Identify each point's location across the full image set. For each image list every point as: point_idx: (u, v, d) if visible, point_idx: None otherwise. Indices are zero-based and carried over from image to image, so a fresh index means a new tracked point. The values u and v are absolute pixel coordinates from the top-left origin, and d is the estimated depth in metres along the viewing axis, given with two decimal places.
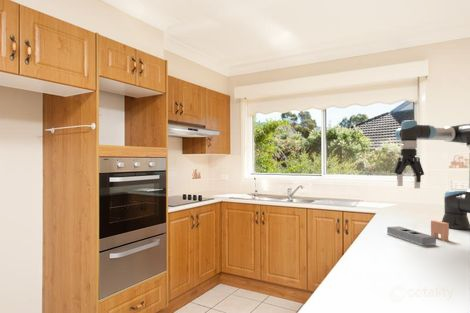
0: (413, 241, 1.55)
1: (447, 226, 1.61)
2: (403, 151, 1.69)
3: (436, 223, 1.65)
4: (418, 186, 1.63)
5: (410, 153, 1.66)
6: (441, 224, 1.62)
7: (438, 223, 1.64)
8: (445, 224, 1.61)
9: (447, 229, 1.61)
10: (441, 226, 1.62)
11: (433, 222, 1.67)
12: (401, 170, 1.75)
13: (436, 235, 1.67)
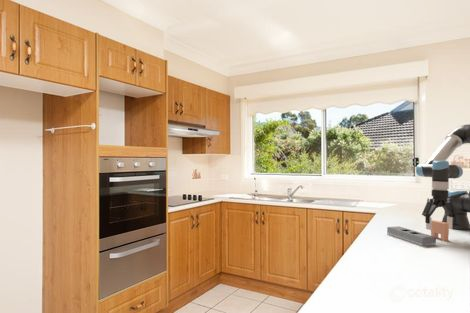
0: (413, 241, 1.55)
1: (447, 226, 1.61)
2: None
3: (436, 223, 1.65)
4: (428, 227, 1.62)
5: (432, 194, 1.65)
6: (441, 224, 1.62)
7: (438, 223, 1.64)
8: (445, 224, 1.61)
9: (447, 229, 1.61)
10: (441, 226, 1.62)
11: (433, 222, 1.67)
12: (447, 212, 1.66)
13: (436, 235, 1.67)
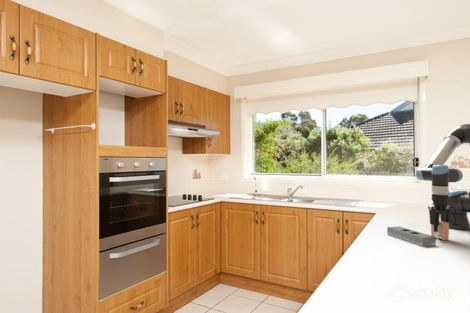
0: (413, 241, 1.55)
1: (447, 225, 1.61)
2: None
3: None
4: (437, 236, 1.64)
5: (432, 198, 1.65)
6: (441, 223, 1.62)
7: None
8: (445, 223, 1.61)
9: (447, 228, 1.61)
10: (441, 225, 1.62)
11: None
12: (442, 219, 1.65)
13: None
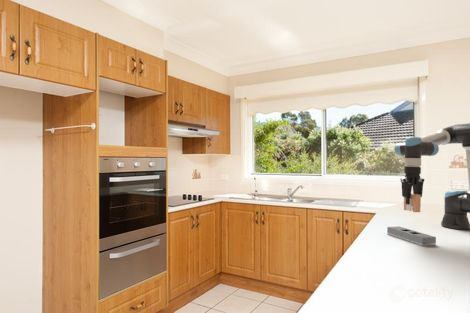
0: (413, 241, 1.55)
1: (419, 198, 1.59)
2: None
3: None
4: (408, 209, 1.62)
5: (405, 171, 1.63)
6: (413, 196, 1.60)
7: None
8: (417, 195, 1.59)
9: (419, 201, 1.59)
10: (413, 198, 1.60)
11: None
12: (414, 192, 1.63)
13: None
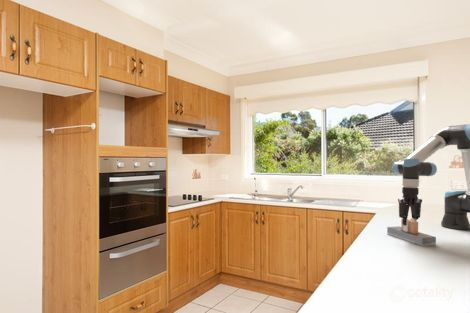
0: (413, 241, 1.55)
1: (417, 224, 1.59)
2: None
3: None
4: (405, 229, 1.61)
5: (402, 191, 1.63)
6: (411, 222, 1.60)
7: None
8: (414, 222, 1.59)
9: (416, 228, 1.59)
10: (411, 225, 1.60)
11: None
12: (412, 212, 1.63)
13: None
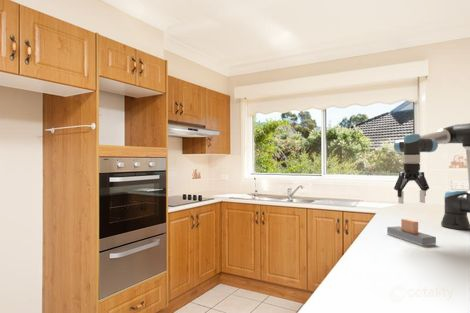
0: (413, 241, 1.55)
1: (417, 224, 1.59)
2: None
3: (406, 222, 1.63)
4: (400, 201, 1.61)
5: (404, 168, 1.64)
6: (411, 222, 1.60)
7: (408, 221, 1.61)
8: (414, 222, 1.59)
9: (416, 228, 1.59)
10: (411, 225, 1.60)
11: (403, 221, 1.64)
12: (420, 185, 1.65)
13: None
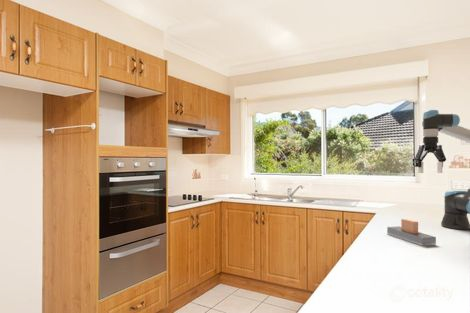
0: (413, 241, 1.55)
1: (417, 224, 1.59)
2: None
3: (406, 222, 1.63)
4: (420, 171, 1.78)
5: (423, 141, 1.81)
6: (411, 222, 1.60)
7: (408, 221, 1.61)
8: (414, 222, 1.59)
9: (416, 228, 1.59)
10: (411, 225, 1.60)
11: (403, 221, 1.64)
12: (437, 157, 1.81)
13: None
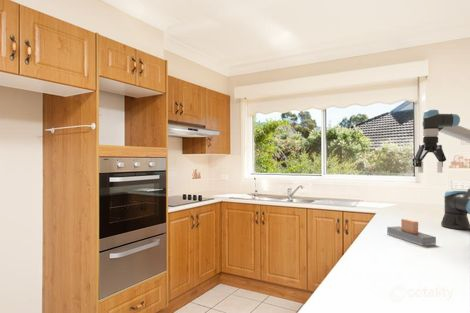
0: (413, 241, 1.55)
1: (417, 224, 1.59)
2: None
3: (406, 222, 1.63)
4: (420, 170, 1.78)
5: (423, 141, 1.81)
6: (411, 222, 1.60)
7: (408, 221, 1.61)
8: (414, 222, 1.59)
9: (416, 228, 1.59)
10: (411, 225, 1.60)
11: (403, 221, 1.64)
12: (437, 157, 1.82)
13: None
